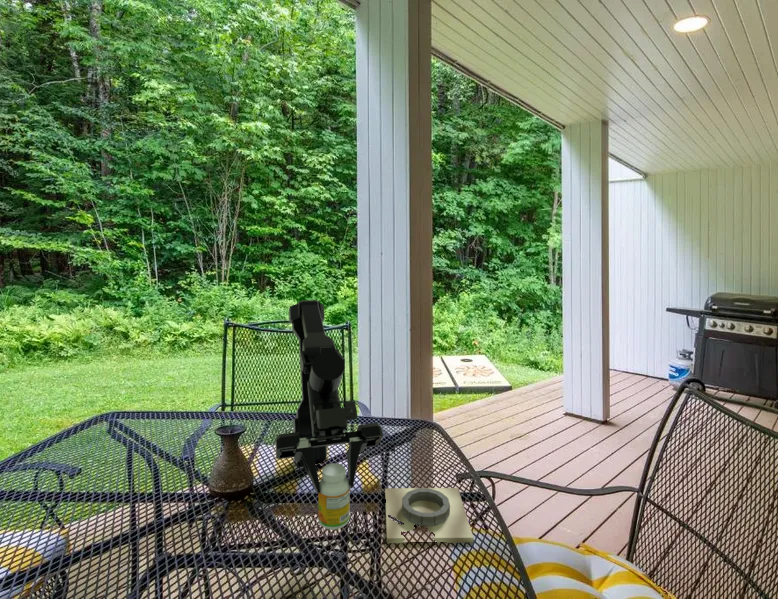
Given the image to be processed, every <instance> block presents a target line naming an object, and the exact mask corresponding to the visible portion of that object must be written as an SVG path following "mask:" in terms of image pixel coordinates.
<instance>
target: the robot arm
mask: <svg viewBox="0 0 778 599" xmlns="http://www.w3.org/2000/svg"><path fill="white" fill-rule="evenodd" d="M325 315H326V314H325V305H324V304H323V303H321V301H320V300H318V299H310V300H309V299H308V300H306V299H305V300H302V299H301V301H298V302H297V303H295V304H293V305H290V306H289V308H288V322H289V324H291V331H292V332H293V334H294V335H295V336H296V339H297V340H298V344H299V346H298V348H299V366H300V367H299V369H300V384H301V401H300V403H299V404H298V405H297V409H296V411H295V414H296V417H294V418H293V424H292V428H293V429H292V432H286V433H279V434H277V436H276V437H275V458H276V460H282V459H284V460H285V459H291V458H293V462H296V466H297V467H303V469H304V470H305V472H306V473H307V476H308V477H309V479H310V482H311V484H312V486H313V488H314V490H315V492H316V494H318V493H320V486H319V482H320V479H319V475H318V470H317V466H316V465H315V464H318V463H321V462H323V461H324V460H325V461H326V460H327V457H328V446H329V447H330V446H337V445H344V444H347V445H348V448H347V451H346V460H347V461H346V462H347V475H348V476H347V477H348V478H347V479H348V481H349V486H350V489H353V488H354V485H355V477H356V471H357V465H358V459H359V455H360V454H361V453H363V452H364V451H365V450H366V449H365V448H374V447H377V446H379V443H380V442H381V440H382V439H383V437H384V434H383V428H382V426H381V424H379V423H378V422H371V423H362V424H359V425H358V426H357V429H356V430H355V431H348V432H345V431H346V430H347V426H348V421H355V420H357V419H358V409H357V405H356V401H355V400H353V401H352V400H351V401H345V402H343V407H342V406H341V400H340V393H339V392H340V391H339V388H340V385H341V381H342V378H343V375H344V371H345V363H346V362H345V361H346V360H345V358H344V356H343V355H342V353H341V352H340V350H339V348H336V345H335V344H336V343H335V341H334V339H332V337H330V336H328V335H326V331H325V327H324V321H325V319H326V316H325ZM325 461H324V462H325Z"/></svg>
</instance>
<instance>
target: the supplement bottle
mask: <svg viewBox="0 0 778 599" xmlns="http://www.w3.org/2000/svg"><path fill="white" fill-rule="evenodd" d="M346 470H347V469H346V467H345V466H344V465H343V464H341V463H330V464H329V463H328V464H326V465H324V466H323V468H322V470H321V479H319V486H320V493H318V495H317V497H318V502H317V504H318V506H317V507H318V523H319V525H320V526H321V527H322V528H325V529H327V530H339V529H341V528H343V527H345V526H346V525H348V523H349V521H350V517H351V514H350V502H351V501H350V497H351V496H350V495H351V494H350V492H351V490H350V489H351V488H350V484H349V478H347V477H346V476H347V475H346V474H347V473H346Z"/></svg>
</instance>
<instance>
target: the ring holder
mask: <svg viewBox="0 0 778 599" xmlns="http://www.w3.org/2000/svg"><path fill="white" fill-rule="evenodd" d="M384 497H385V499H386V503H385V525H386V528H385V529H386V530H385V531H386V532H385V533H386V544H404V543H403V541H404V540H405V539H406V538H405V537H404V536H403V535H401V531H404V532H407V531H410V530H413V529H415V527H414V525H415V524H418V525H419V526H423V525H426V526H427V528H428V530H429V531H430V532H433V533H434V534H435V537H434V538H432V540H433V539H434V540H435V541H437V543H436V544H441V543H440V542H447V543H446V544H448V543H449V544H451V543H452V544H453V543H455V544H456V543H458V544H459V543H466V544H467V543H474V535H473V531H472V529H471V525H470V523H469V519H468V516H467V514H466V510H465V506H464V502H463V501H462V497H461V494H460V490H459V487H420V488H419V487H413V488H412V487H409V488H408V487H406V488H405V487H403V488H401V487H398V488H397V487H396V488H395V487H393V488H384ZM388 515H391V516H393V517H395V518H396V519H398V520H400V521H401V522H403V523H404V525H401V524H398V523H397V522H395V521H393V520H391V519H390V518H389V517H388Z"/></svg>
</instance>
